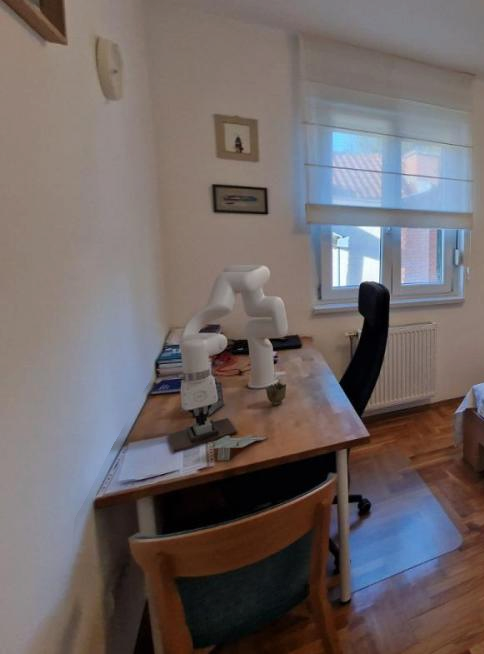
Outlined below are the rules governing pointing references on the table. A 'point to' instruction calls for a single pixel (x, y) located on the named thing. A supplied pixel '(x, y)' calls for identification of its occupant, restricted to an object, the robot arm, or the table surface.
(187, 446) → the mounting board
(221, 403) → the small box
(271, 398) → the cup
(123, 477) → the table surface
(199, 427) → the gray rectangular block
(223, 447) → the metal bracket
